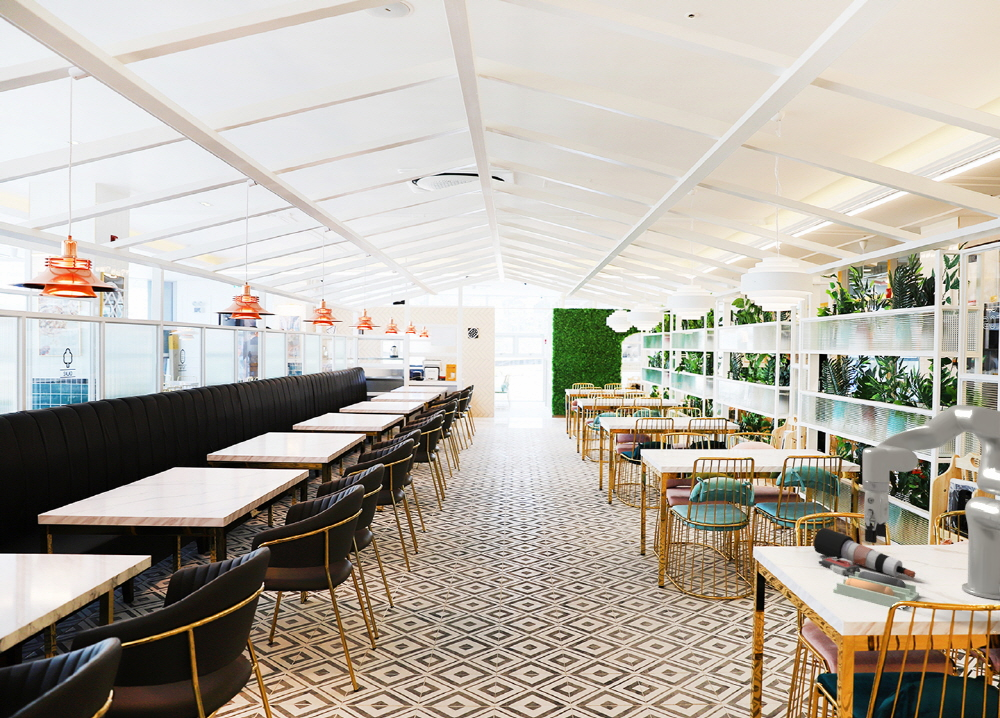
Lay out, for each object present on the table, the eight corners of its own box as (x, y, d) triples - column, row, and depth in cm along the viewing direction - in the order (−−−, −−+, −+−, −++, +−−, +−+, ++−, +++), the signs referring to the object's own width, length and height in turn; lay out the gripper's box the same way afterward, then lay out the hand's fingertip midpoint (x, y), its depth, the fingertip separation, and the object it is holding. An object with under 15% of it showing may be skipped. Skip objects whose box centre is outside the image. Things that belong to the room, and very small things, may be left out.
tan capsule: (895, 599, 204) (895, 586, 204) (891, 602, 201) (891, 589, 201) (847, 587, 214) (847, 575, 214) (843, 590, 211) (843, 578, 211)
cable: (908, 594, 224) (904, 571, 221) (816, 557, 253) (812, 537, 250) (922, 577, 229) (919, 555, 225) (831, 543, 257) (826, 522, 254)
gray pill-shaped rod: (907, 591, 211) (907, 579, 211) (903, 594, 209) (903, 582, 209) (860, 580, 221) (860, 568, 222) (856, 583, 219) (856, 571, 219)
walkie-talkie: (813, 566, 241) (862, 583, 222) (814, 554, 241) (862, 571, 222) (830, 563, 244) (880, 580, 226) (831, 552, 244) (880, 568, 226)
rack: (919, 596, 210) (919, 586, 210) (902, 610, 198) (902, 599, 198) (852, 580, 225) (852, 570, 225) (833, 592, 212) (833, 582, 212)
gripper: (880, 491, 200) (880, 547, 200) (896, 484, 212) (896, 536, 212) (854, 488, 205) (853, 542, 206) (871, 481, 217) (871, 531, 218)
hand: (875, 539), depth 209 cm, fingers open, 9 cm apart
